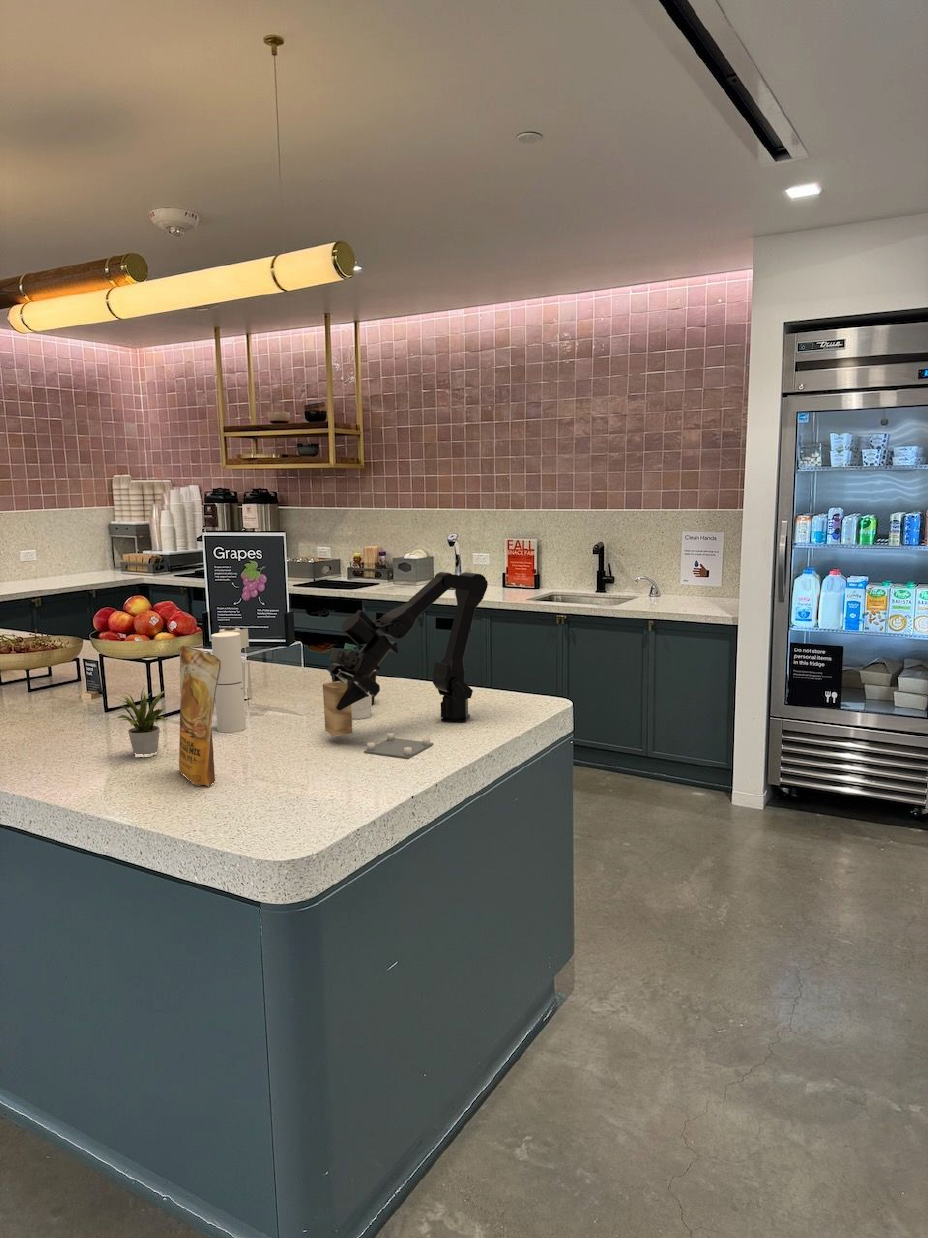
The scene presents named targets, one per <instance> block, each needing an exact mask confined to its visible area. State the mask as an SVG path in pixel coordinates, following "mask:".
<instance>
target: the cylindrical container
mask: <svg viewBox="0 0 928 1238" xmlns="http://www.w3.org/2000/svg"><path fill="white" fill-rule="evenodd" d="M210 639H211V648H212V649H211V651H212V655H214V656H216V657H217V658H218V659H219V660H220V661H221V669H220V673H219V678H218V682H217V687H216V693H215V711H216V728H217V732H219V733H222V732H223V733H224V732H225V733H224V734H227V733H228V734H230V733H232V732H233V733H239V732H241V731H244V730H245V729H246V728H247V727H246V723H247V722H246V710H245V707H246V706H245V700H244V691H243V674H242V658H241V641H240V633H238V632H222V633H219V632H217V633H213V634H211V638H210Z"/></svg>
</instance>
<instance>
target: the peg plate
mask: <svg viewBox="0 0 928 1238" xmlns="http://www.w3.org/2000/svg"><path fill="white" fill-rule="evenodd" d="M434 744H435V743H434V742H431V738H430V737H429V736H428V737H427V736H424V737H422V739H421V740H413V739H405V738H397V737H395V733H394V732H387V733H386V739H385V740H383V741H381V742H379V743H377V744H376V742H374V741H369V742H367V744H366V745H367V747H366V748H367V749H365V750H364V751H363V753H364V754H368V753H370V754H369V755H375V754H376V756H377V755H378V756H383V755H384V756H383V757H392V758H396V759H397V758H399V759H406V760H409V759H410V758H411V759H412V758H413V757H414V756H416V755H418V754H419V753H422V752H424V751H426V750H427V749H429V748H431V747H432V745H433V746H434ZM430 746H431V747H430ZM423 750H424V751H423Z"/></svg>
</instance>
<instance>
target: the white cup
mask: <svg viewBox="0 0 928 1238" xmlns="http://www.w3.org/2000/svg"><path fill="white" fill-rule="evenodd" d="M367 694H368V695H369V696H368V697H365V698H363V699H361V700H359V701H357V702H355V703H353V704H351V714H352V720H362V719H367V718H370V717H371V716H372V706H373V705H372V695H370V694H369V692H368V693H367Z"/></svg>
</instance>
